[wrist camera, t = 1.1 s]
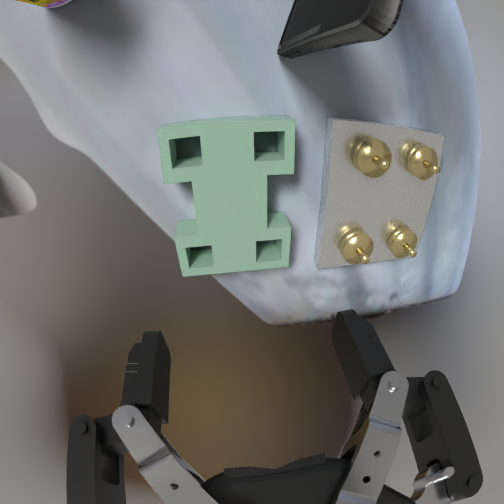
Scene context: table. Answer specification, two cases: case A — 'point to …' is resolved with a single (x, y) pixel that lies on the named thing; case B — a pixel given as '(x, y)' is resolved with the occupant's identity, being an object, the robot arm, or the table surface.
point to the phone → (336, 24)
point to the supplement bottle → (47, 3)
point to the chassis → (375, 191)
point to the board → (230, 193)
